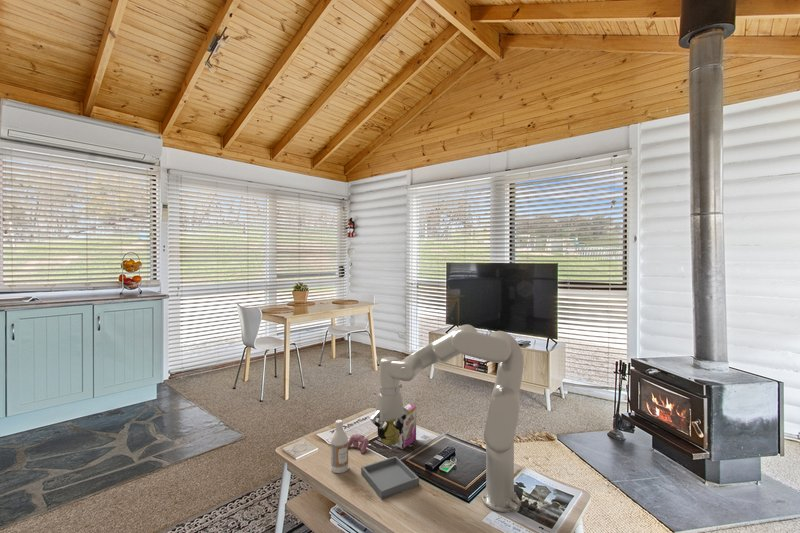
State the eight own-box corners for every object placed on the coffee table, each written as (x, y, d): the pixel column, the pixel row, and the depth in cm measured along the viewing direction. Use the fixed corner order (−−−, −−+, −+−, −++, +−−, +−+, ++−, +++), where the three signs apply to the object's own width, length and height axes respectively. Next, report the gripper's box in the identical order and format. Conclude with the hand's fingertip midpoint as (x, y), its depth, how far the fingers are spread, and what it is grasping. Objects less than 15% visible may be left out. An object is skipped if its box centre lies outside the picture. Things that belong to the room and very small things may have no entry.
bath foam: (335, 475, 149) (334, 426, 148) (328, 467, 155) (327, 420, 154) (351, 470, 153) (350, 421, 152) (343, 462, 158) (343, 415, 158)
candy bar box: (403, 450, 168) (403, 414, 167) (394, 446, 171) (394, 411, 170) (417, 440, 177) (416, 405, 177) (408, 437, 180) (408, 403, 179)
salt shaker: (377, 443, 143) (377, 417, 143) (385, 434, 150) (385, 410, 149) (394, 447, 140) (394, 420, 140) (402, 438, 147) (402, 413, 146)
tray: (419, 485, 142) (419, 477, 142) (381, 499, 134) (381, 491, 134) (396, 462, 158) (395, 455, 157) (361, 474, 150) (361, 467, 150)
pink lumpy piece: (367, 454, 168) (371, 437, 170) (362, 453, 164) (366, 436, 167) (350, 448, 173) (354, 432, 175) (344, 448, 169) (348, 431, 172)
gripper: (404, 382, 152) (404, 425, 152) (365, 390, 143) (365, 436, 144) (414, 388, 145) (414, 433, 146) (373, 397, 137) (374, 445, 137)
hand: (390, 434), depth 145 cm, fingers closed on salt shaker, 7 cm apart
